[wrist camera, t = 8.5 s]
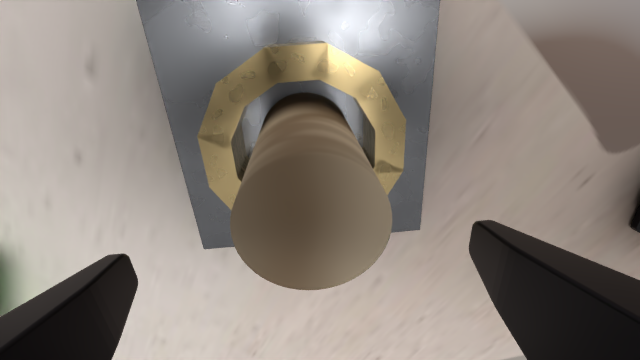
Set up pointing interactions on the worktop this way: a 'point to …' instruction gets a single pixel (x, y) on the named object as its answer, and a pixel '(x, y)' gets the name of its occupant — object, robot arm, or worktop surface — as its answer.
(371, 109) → the ring collar
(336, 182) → the piston
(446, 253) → the worktop surface
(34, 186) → the worktop surface
